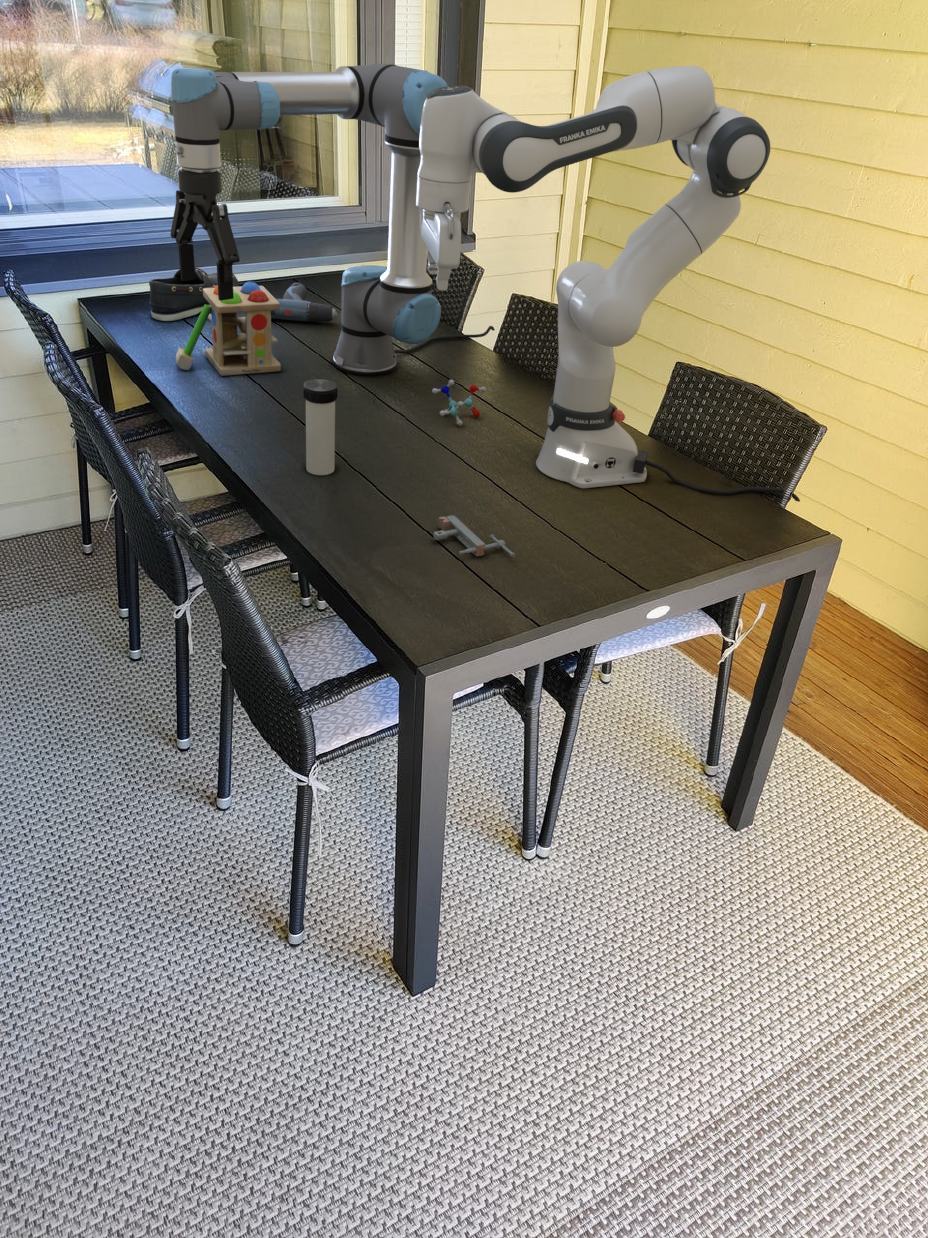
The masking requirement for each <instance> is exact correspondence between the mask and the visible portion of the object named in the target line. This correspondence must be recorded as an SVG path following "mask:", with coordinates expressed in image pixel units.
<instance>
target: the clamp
mask: <svg viewBox="0 0 928 1238" xmlns="http://www.w3.org/2000/svg"><path fill="white" fill-rule="evenodd" d="M437 528H438V529H440V530H437V531H433V539H434V540H436V541H441V540H447V538H449V537H453V536H454V537H455V538H456V539H457V540H458V541H459V542H460V543H461V544H462V545H463V546H465V547H466V549H464V550H459V551H458V554H459V555H464V554H465V555H467V554H468V555H469V554H473V555H474V556H475V557H482V556H484V555H485V552H484V551H486V550H491V549H495V548H496V549H503V550H504V551H505V552H506V553H507V554H509V556H510V558H511V559H513V558H515V557H516V556H517V555H516V552H512V550H510V549H509V548H508V547H506V542H505V540H504V539H499V540H498V538H496V536H495V534H493V533H492V534H490V535H489V540H493V543H488V544H486V543H485V542H484V541H483V540H481V539H480V538H479V537H478V536H477V535H476V534H475V533H474V532H473V531H471V529H470V528H469V527H468V526H467V525H465V524H464V523H463V522H462V521H461V520H460V519H459V518H458V517H457V516H456V515H448V516H445V515H444V516H439V517H438V523H437Z"/></svg>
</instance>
